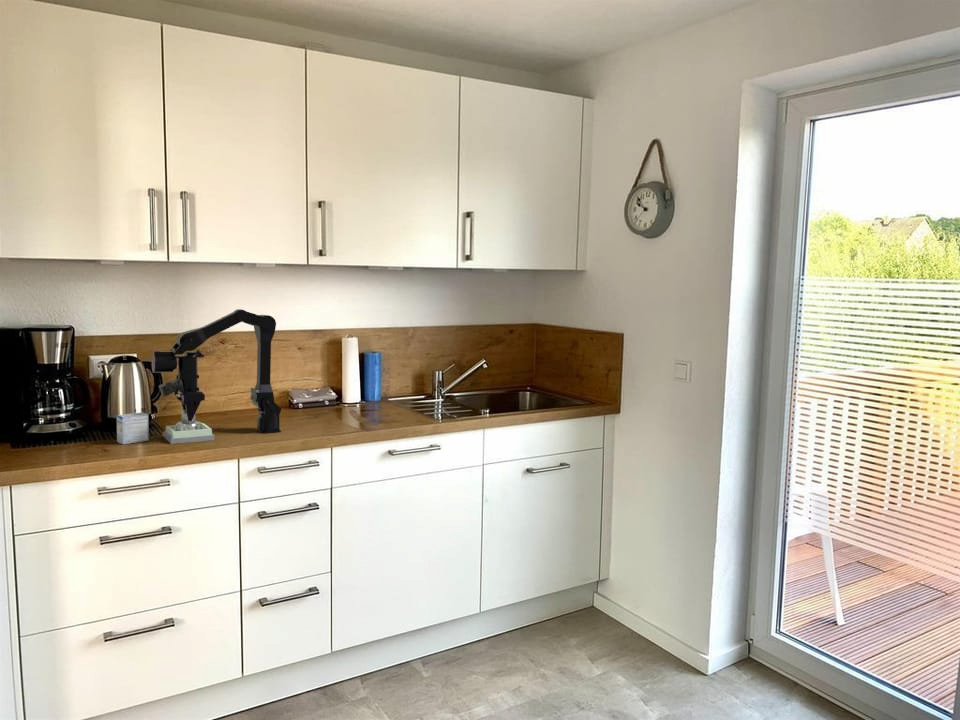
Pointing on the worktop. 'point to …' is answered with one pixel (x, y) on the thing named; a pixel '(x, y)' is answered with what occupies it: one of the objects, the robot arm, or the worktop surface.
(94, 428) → the worktop surface
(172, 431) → the square tray
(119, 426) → the medicine box
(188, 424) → the gear
